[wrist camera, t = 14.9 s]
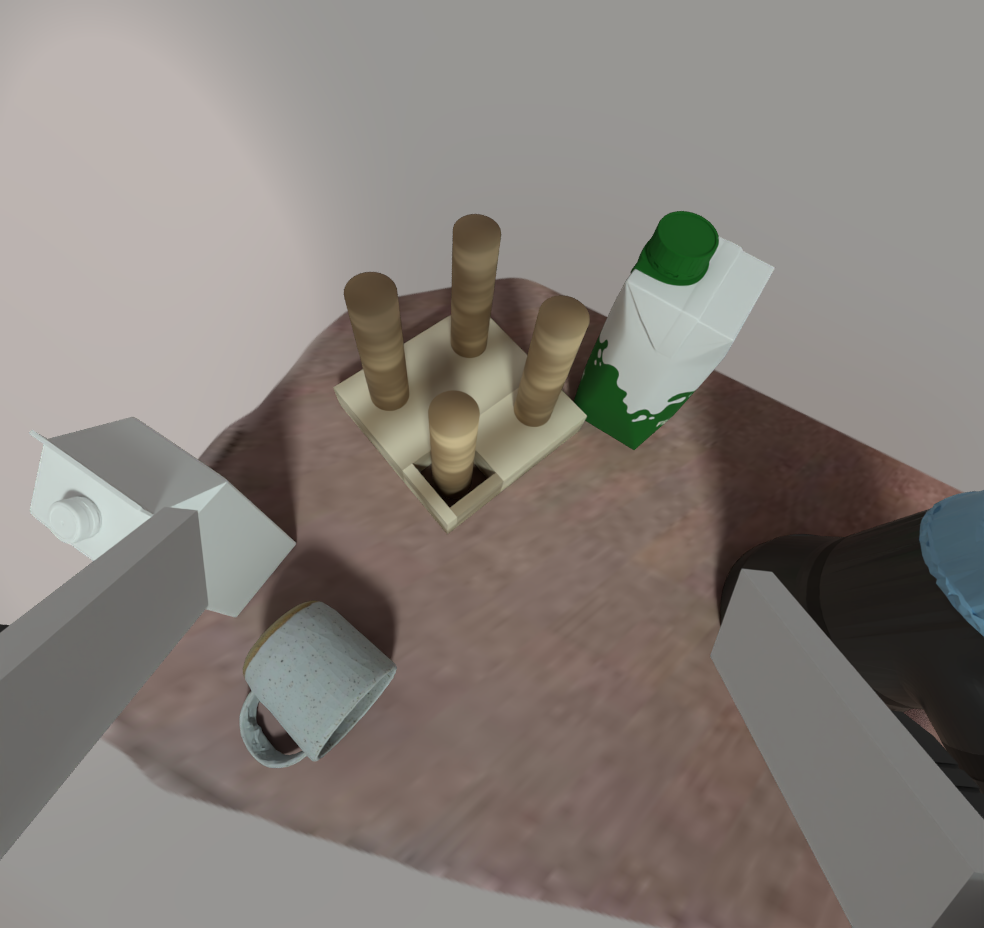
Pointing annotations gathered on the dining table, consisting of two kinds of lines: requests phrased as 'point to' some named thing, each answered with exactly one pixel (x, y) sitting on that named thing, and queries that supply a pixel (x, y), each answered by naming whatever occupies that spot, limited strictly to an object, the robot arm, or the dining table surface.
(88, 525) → the milk carton
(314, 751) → the ceramic mug
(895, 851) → the robot arm
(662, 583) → the dining table surface
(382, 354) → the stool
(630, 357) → the soya milk
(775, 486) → the dining table surface
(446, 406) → the loose leg
